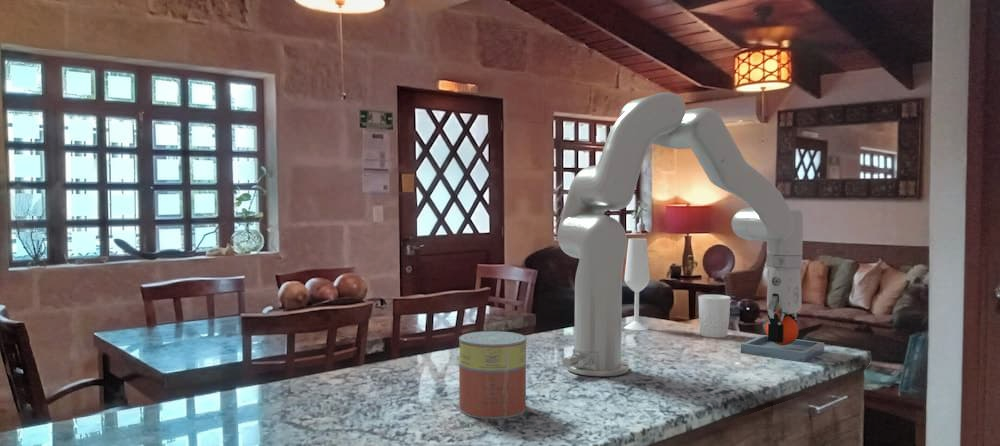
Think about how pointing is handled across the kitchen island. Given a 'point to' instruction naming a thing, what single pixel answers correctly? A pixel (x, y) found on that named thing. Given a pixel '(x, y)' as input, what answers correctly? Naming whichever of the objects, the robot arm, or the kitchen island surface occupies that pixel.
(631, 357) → the kitchen island surface
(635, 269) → the champagne flute
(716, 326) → the white cup
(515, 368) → the canned food
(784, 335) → the clementine
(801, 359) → the dish
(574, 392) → the kitchen island surface
